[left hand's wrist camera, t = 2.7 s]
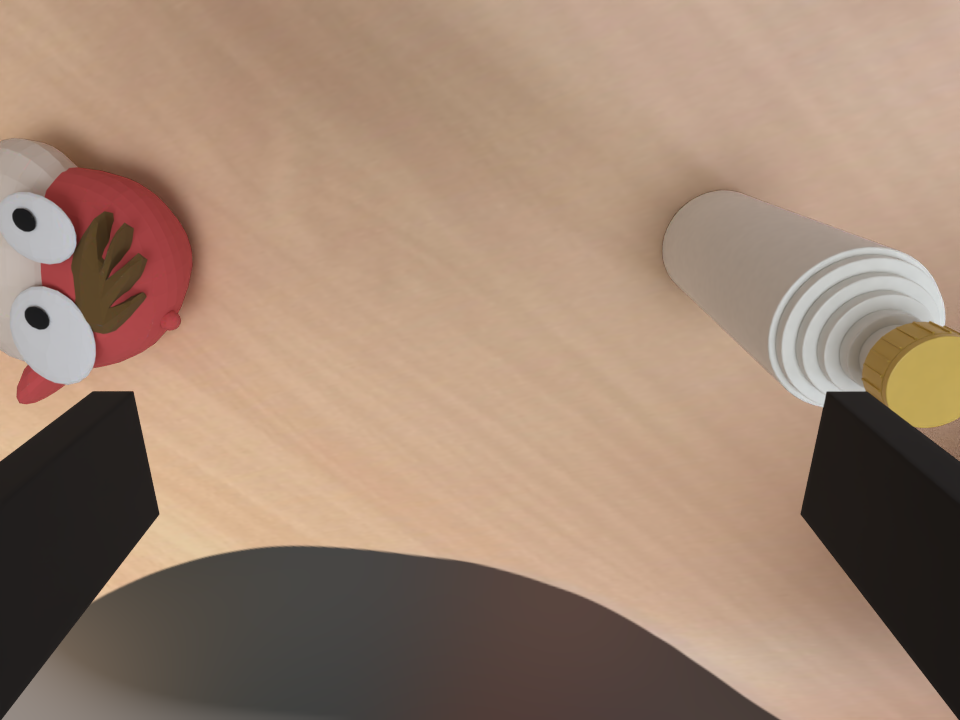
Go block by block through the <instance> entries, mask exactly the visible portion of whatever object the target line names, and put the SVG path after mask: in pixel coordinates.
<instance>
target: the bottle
mask: <svg viewBox="0 0 960 720" xmlns="http://www.w3.org/2000/svg"><path fill="white" fill-rule="evenodd" d="M662 253H663V261H664V265H665V268H666V271H667V273H668V275H669V276H670V278H671V279H672V281H673V282H674V283H675V284H676V285H677V286H678V287H679V288H680V289H681V290H682V291H683V292H684V293H685V294H687V295H688V296H689V297H690V298H691V299H692V300H693V301H694V302H695V303H696V304H697V305H698V306H699V307H700V308H701V309H702V310H703V311H704V312H705V313H706V314H708V315H709V316H710V317H711V318H712V319H713V320H714V321H715V322H716V323H717V324H718V325H719V326H720V327H721V328H722V329H723V330H724V331H725V332H726V333H727V334H729V335H730V336H731V337H732V338H733V339H734V340H735V341H736V342H737V343H738V344H739V345H740V346H741V347H742V348H743V349H744V350H745V351H746V352H747V353H748V354H749V355H751V356H752V357H753V358H754V359H755V360H756V361H757V362H758V363H759V364H760V365H761V366H762V367H763V368H764V369H765V370H766V371H767V372H768V373H769V374H770V375H772V376H773V377H774V378H775V379H776V380H777V381H778V382H779V383H780V384H781V385H782V386H783V387H784V388H785V389H786V390H787V391H789V392H790V393H791V394H792V395H794V396H795V397H797V398H799V399H800V400H802V401H804V402H807V403H809V404H812V405H816V406H820V407H823V406H824V402H825V397H826V392H827V391H866V390H865V388H864V385H863V381H862V380H861V378H862V370H863V364H864V362H865V359H866V357H867V355H868V353H869V351H870V349H871V348H872V347H873V346H874V345H875V343H876V342H877V341H878V340H879V339H880V338H881V337H882V336H884V335H885V334H886V333H888V332H890V331H891V330H893V329H895V328H896V327H899V326H902V325H905V324H908V323H913V322H914V321H915V322H929V321H932V322H934V323H936V324H938V325H940V326H945V308H944V302H943V299H942V296H941V293H940V291H939V289H938V286H937V284H936V282H935V280H934V278H933V277H932V275H931V274H930V272H929V271H928V270H927V269H926V267H924V266H923V265H922V264H921V263H920V262H919V261H918V260H916V259H915V258H913V257H911V256H910V255H908V254H905V253H903V252H901V251H898V250H896V249H893V248H890V247H888V246H885V245H882V244H879V243H877V242H874V241H871V240H868V239H866V238H863V237H860V236H857V235H855V234H852V233H849V232H846V231H844V230H841V229H838V228H835V227H833V226H830V225H827V224H825V223H822V222H819V221H816V220H814V219H811V218H808V217H805V216H803V215H800V214H797V213H794V212H792V211H789V210H786V209H783V208H781V207H778V206H775V205H773V204H770V203H767V202H764V201H762V200H759V199H756V198H753V197H751V196H748V195H745V194H742V193H739V192H735V191H729V190H719V191H712V192H708V193H705V194H702V195H700V196H698V197H696V198H694V199H692V200H691V201H689V202H688V203H687V204H685V205H684V206H683V207H682V208H681V209H680V210H679V211H678V212H677V213H676V215H675V216H674V217H673V219H672V220H671V222H670V224H669V226H668V228H667V230H666V233H665V236H664V240H663V248H662Z"/></svg>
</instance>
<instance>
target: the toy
mask: <svg viewBox="0 0 960 720" xmlns="http://www.w3.org/2000/svg"><path fill="white" fill-rule="evenodd" d="M191 270H192V251H191V246H190V243H189V240H188V237H187V234H186V232H185V231H184V229H183V227H182V225H181V224H180V222H179V221H178V219H177V218H176V217H175V215H174V214H173V213H172V212H171V210H170V209H169V208H168V207H167V206H166V204H165V203H164V202H163V201H162V200H161V199H160V198H159V197H158V196H156V195H155V194H154V193H153V192H151V191H150V190H148V189H147V188H145V187H144V186H142V185H141V184H139V183H137V182H135V181H133V180H131V179H128V178H126V177H122V176H118V175H115V174H111V173H108V172H104V171H100V170H93V169H86V168H78V167H77V166H76V165H75V164H74V163H73V162H72V161H71V160H70V159H69V158H68V157H66V156H65V155H64V154H63V153H62V152H60V151H59V150H57V149H56V148H54V147H53V146H51V145H48V144H45V143H43V142H38V141H33V140H27V139H19V138H11V139H7V140H3V141H1V142H0V350H1V351H3V352H4V353H6V354H7V355H9V356H11V357H14V358H17V359H19V360H22V361H25V362H26V363H27V364H28V366H27V367H26V368H25V369H24V371H23V374H22V377H21V379H20V381H19V384H18V386H17V399H18V401H19V403H22V404H30V403H35V402H38V401H40V400H42V399H44V398H46V397H48V396H49V395H51V394H53V393H54V392H56V391H57V390H59V389H60V388H62V387H63V386H64V385H69V384H73V383H78V382H80V381H81V380H83V379H84V378H85V377H87V376H88V375H89V373H90V371H91V370H92V368H96V367H102V366H107V365H111V364H115V363H118V362H121V361H124V360H126V359H128V358H131V357H133V356H135V355H137V354H139V353H141V352H143V351H144V350H146V349H147V348H149V347H150V346H152V345H153V344H155V343H156V342H157V341H158V340H159V338H160V337H161V336H162V335H163V334H164V333H165V332H166V331H167V330H174V329H176V328H178V327H179V325H180V323H181V319H180V316H179V315H178V314H177V313H178V312H179V310H180V308H181V306H182V303H183V300H184V297H185V294H186V291H187V289H188V285H189V280H190V275H191Z"/></svg>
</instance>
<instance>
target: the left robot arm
mask: <svg viewBox="0 0 960 720" xmlns="http://www.w3.org/2000/svg"><path fill="white" fill-rule="evenodd" d="M158 515H159V510H158V505H157V500H156V496H155V491H154V486H153V482H152V477H151V472H150V467H149V463H148V458H147V453H146V449H145V444H144V439H143V435H142V430H141V425H140V420H139V416H138V411H137V406H136V402H135V397H134V392H133V391H93V392H91V393H90V394H89V395H87V396H86V397H85V398H84V399H82V400H81V401H80V402H78V403H77V404H76V405H74V406H73V407H72V408H70V409H69V410H68V411H66V412H65V413H64V414H62V415H61V416H60V417H58V418H57V419H56V420H55V421H53V422H52V423H51V424H49V425H48V426H47V427H45V428H44V429H43V430H41V431H40V432H39V433H37V434H36V435H35V436H33V437H32V438H31V439H29V440H28V441H27V442H26V443H24V444H23V445H22V446H20V447H19V448H18V449H16V450H15V451H14V452H12V453H11V454H10V455H8V456H7V457H6V458H4V459H3V460H2V461H0V720H1V719H2V718H3V717H4V715H5V714H6V713H7V712H8V710H9V709H10V708H11V706H12V705H13V704H14V703H15V701H16V700H17V699H18V697H19V696H20V695H21V693H22V692H23V691H24V690H25V688H26V687H27V686H28V684H29V683H30V682H31V680H32V679H33V678H34V677H35V675H36V674H37V673H38V671H39V670H40V669H41V667H42V666H43V665H44V664H45V662H46V661H47V660H48V658H49V657H50V656H51V654H52V653H53V652H54V651H55V649H56V648H57V647H58V645H59V644H60V643H61V641H62V640H63V639H64V638H65V636H66V635H67V634H68V632H69V631H70V630H71V628H72V627H73V626H74V625H75V623H76V622H77V621H78V619H79V618H80V617H81V615H82V614H83V613H84V612H85V610H86V609H87V608H88V606H89V605H90V604H91V602H92V601H93V600H94V599H95V597H96V596H97V595H98V593H99V592H100V591H101V589H102V588H103V587H104V586H105V584H106V583H107V582H108V580H109V579H110V578H111V576H112V575H113V574H114V573H115V571H116V570H117V569H118V567H119V566H120V565H121V563H122V562H123V561H124V560H125V558H126V557H127V556H128V554H129V553H130V552H131V551H132V549H133V548H134V547H135V545H136V544H137V543H138V541H139V540H140V539H141V538H142V536H143V535H144V534H145V532H146V531H147V530H148V528H149V527H150V526H151V525H152V523H153V522H154V521H155V519H156V518H157V517H158ZM801 515H802V517H803V518H804V519H805V521H806V522H807V523H808V525H809V526H810V527H811V528H812V530H813V531H814V532H815V534H816V535H817V536H818V538H819V539H820V540H821V541H822V543H823V544H824V545H825V547H826V548H827V549H828V551H829V552H830V553H831V554H832V556H833V557H834V558H835V560H836V561H837V562H838V563H839V565H840V566H841V567H842V569H843V570H844V571H845V573H846V574H847V575H848V576H849V578H850V579H851V580H852V582H853V583H854V584H855V586H856V587H857V588H858V589H859V591H860V592H861V593H862V595H863V596H864V597H865V599H866V600H867V601H868V602H869V604H870V605H871V606H872V608H873V609H874V610H875V612H876V613H877V614H878V615H879V617H880V618H881V619H882V621H883V622H884V623H885V625H886V626H887V627H888V628H889V630H890V631H891V632H892V634H893V635H894V636H895V638H896V639H897V640H898V641H899V643H900V644H901V645H902V647H903V648H904V649H905V651H906V652H907V653H908V654H909V656H910V657H911V658H912V660H913V661H914V662H915V664H916V665H917V666H918V667H919V669H920V670H921V671H922V673H923V674H924V675H925V677H926V678H927V679H928V680H929V682H930V683H931V684H932V686H933V687H934V688H935V690H936V691H937V692H938V693H939V695H940V696H941V697H942V699H943V700H944V701H945V703H946V704H947V705H948V706H949V708H950V709H951V710H952V712H953V713H954V714H955V716H956V717H957V718H958V719H959V720H960V461H958V460H957V459H956V458H954V457H953V456H952V455H950V454H949V453H948V452H946V451H945V450H944V449H942V448H941V447H940V446H938V445H937V444H936V443H934V442H933V441H932V440H931V439H929V438H928V437H927V436H925V435H924V434H923V433H921V432H920V431H919V430H917V429H916V428H915V427H913V426H912V425H911V424H909V423H908V422H907V421H905V420H904V419H903V418H902V417H900V416H899V415H898V414H896V413H895V412H894V411H892V410H891V409H890V408H888V407H887V406H886V405H884V404H883V403H882V402H880V401H879V400H878V399H876V398H875V397H874V396H873V395H871V394H870V393H869V392H867V391H827V392H826V397H825V402H824V406H823V411H822V416H821V420H820V425H819V430H818V435H817V439H816V444H815V449H814V453H813V458H812V463H811V467H810V472H809V477H808V482H807V486H806V491H805V496H804V500H803V505H802V510H801Z"/></svg>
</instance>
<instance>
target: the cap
mask: <svg viewBox="0 0 960 720" xmlns="http://www.w3.org/2000/svg"><path fill="white" fill-rule="evenodd" d="M861 380H862V381H863V385H864V388H865V390H866V391H867V392H869V393H870V394H871V395H873V396H874V397H875V398H876V399H878V400H879V401H880V402H882V403H883V404H884V405H886V406H887V407H888V408H890V409H891V410H892V411H894V412H895V413H896V414H898V415H899V416H900V417H902V418H903V419H904V420H905V421H907V422H908V423H909V424H911V425H912V426H913V427H919V428H931V427H937V426H941V425H945V424H947V423H950V422H952V421H954V420H956V419H958V418H959V417H960V333H959V332H957V331H954V330H952V329H950V328H948V327H946V326H940V325H938V324H936V323H934V322H932V321H929V322H915V321H914V322H913V323H908V324H905V325H902V326H899V327H896V328H895V329H893V330H891V331H890V332H888V333H886V334H885V335H884V336H882V337H881V338H880V339H879V340H878V341H877V342H876V343H875V345H874V346H873V347H872V348H871V349H870V351H869V353H868V355H867V357H866V359H865V362H864V364H863V370H862V378H861Z"/></svg>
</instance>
